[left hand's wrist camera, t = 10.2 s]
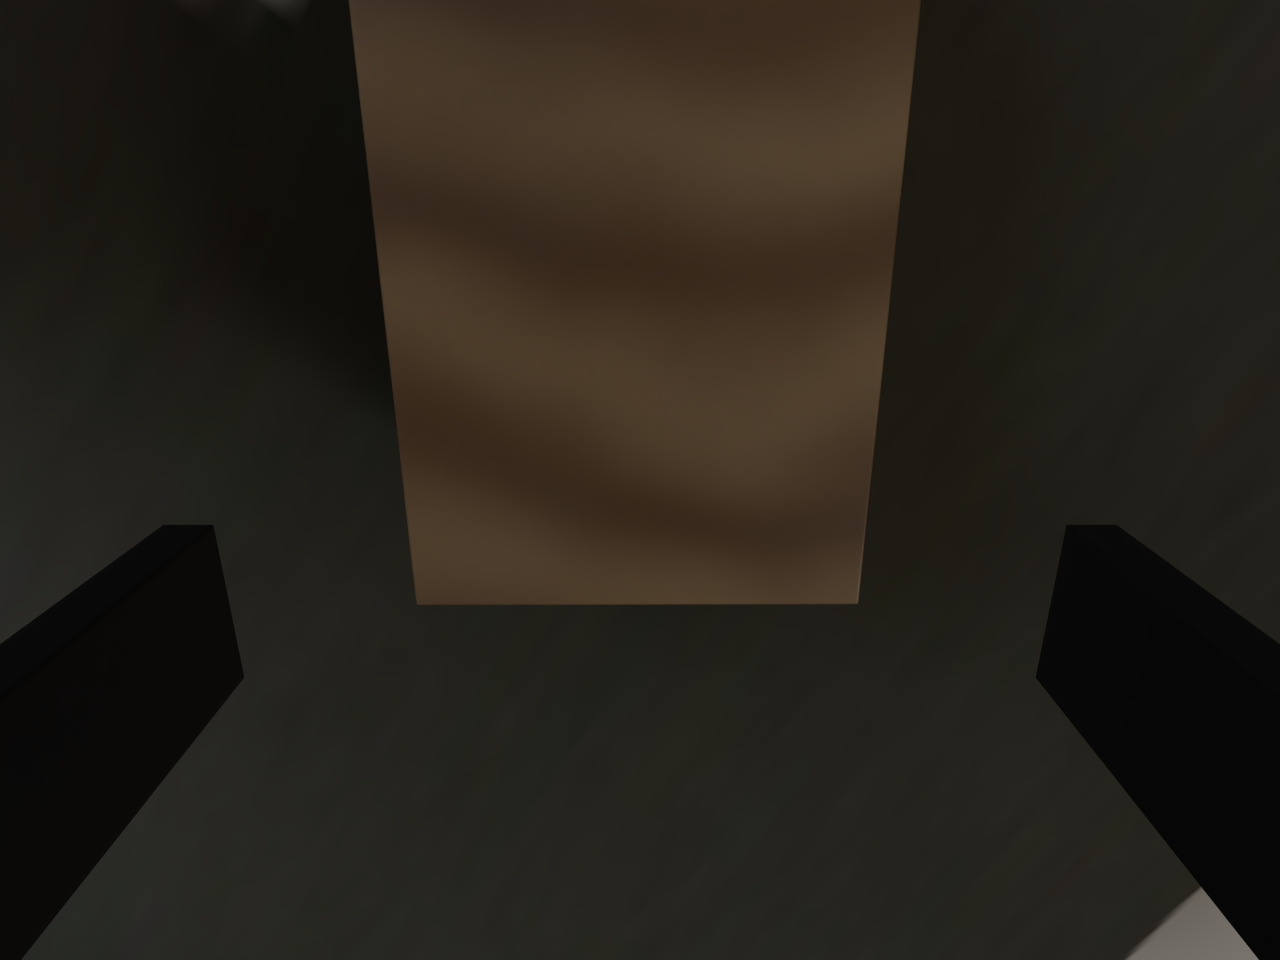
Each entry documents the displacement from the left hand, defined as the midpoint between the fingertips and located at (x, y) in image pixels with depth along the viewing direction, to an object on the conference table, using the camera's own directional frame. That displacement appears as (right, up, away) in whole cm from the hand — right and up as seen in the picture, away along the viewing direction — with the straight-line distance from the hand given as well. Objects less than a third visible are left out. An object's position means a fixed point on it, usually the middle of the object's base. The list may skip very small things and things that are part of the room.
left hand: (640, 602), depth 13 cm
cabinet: (0, +10, +13) cm, 16 cm away
